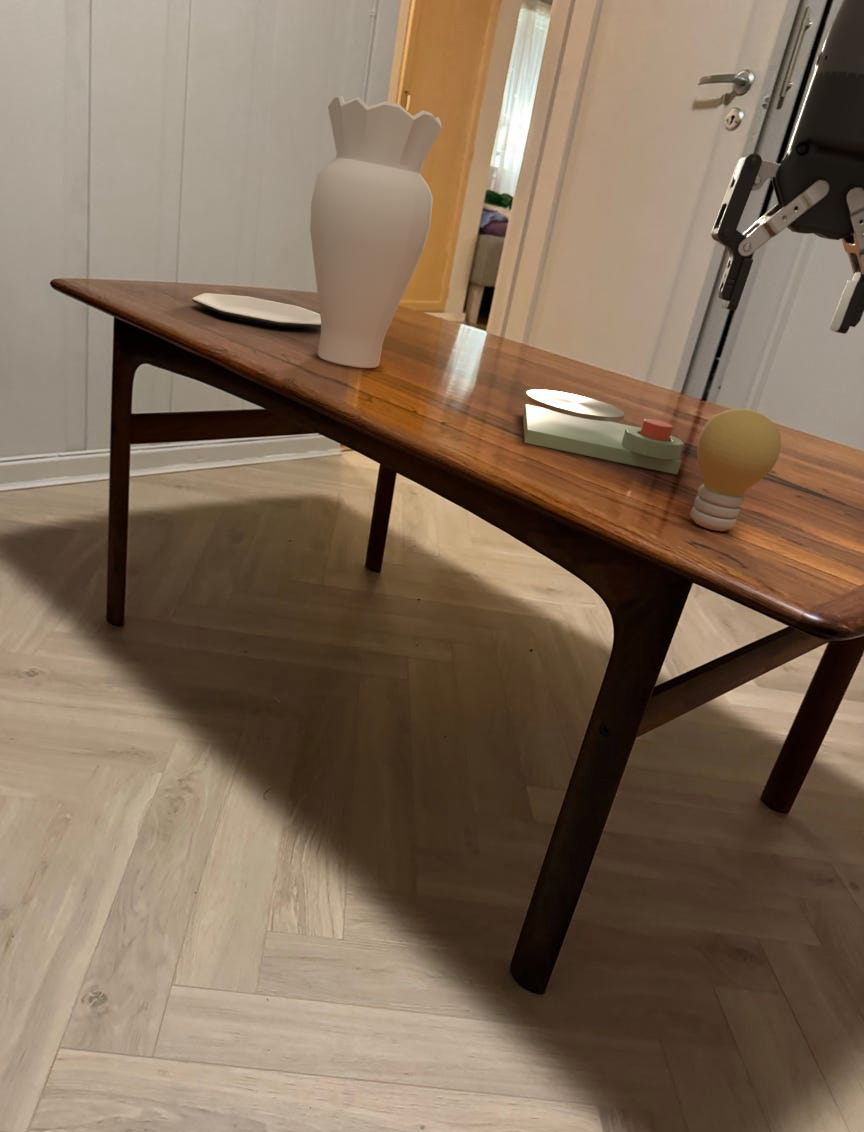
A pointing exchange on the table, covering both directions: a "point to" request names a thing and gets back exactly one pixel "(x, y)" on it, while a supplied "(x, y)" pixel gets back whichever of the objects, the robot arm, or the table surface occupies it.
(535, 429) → the scale
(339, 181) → the vase
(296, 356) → the table surface
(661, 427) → the button
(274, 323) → the plate
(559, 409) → the scale pan
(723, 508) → the light bulb
